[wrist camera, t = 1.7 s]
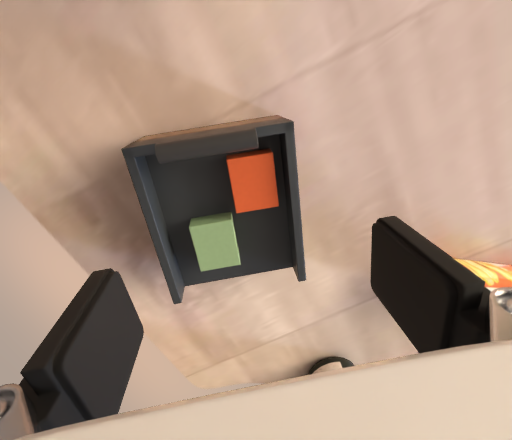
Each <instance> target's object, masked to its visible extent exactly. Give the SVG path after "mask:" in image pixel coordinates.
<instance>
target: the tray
mask: <svg viewBox="0 0 512 440" xmlns="http://www.w3.org/2000/svg"><path fill="white" fill-rule="evenodd" d="M268 148H269V149H270V150H271V151H272V152H273V157H274V166H275V175H276V183H277V192H278V201H279V206H277V207H271V208H265V209H260V210H254V211H248V212H242V213H236V210H235V204H234V199H233V193H232V188H231V183H230V177H229V172H228V167H227V161H226V156H227V155H231V154H237V153H243V152H249V151H256V150H262V149H268ZM121 150H122V153H123V156H124V158H125V161H126V164H127V167H128V170H129V173H130V176H131V179H132V182H133V185H134V188H135V191H136V193H137V196H138V199H139V202H140V205H141V208H142V211H143V214H144V217H145V220H146V223H147V226H148V229H149V232H150V235H151V238H152V241H153V244H154V247H155V250H156V253H157V256H158V258H159V261H160V264H161V267H162V270H163V273H164V276H165V279H166V282H167V285H168V288H169V291H170V294H171V297H172V300H173V303H174V304H178V303H181V302H182V297H183V292H184V287H185V286H189V285H195V284H200V283H206V282H211V281H217V280H222V279H228V278H233V277H239V276H245V275H250V274H256V273H261V272H267V271H272V270H278V269H284V268H289V267H293V269H294V271H295V274H296V276H297V279H298V281H305V280H306V273H305V260H304V248H303V235H302V223H301V210H300V198H299V185H298V173H297V160H296V148H295V135H294V122H293V121H291V120H289V119H286V118H281V119H275V120H269V121H262V122H256V123H250V124H244V125H237V126H231V127H225V128H219V129H212V130H206V131H200V132H194V133H187V134H181V135H175V136H169V137H162V138H156V139H150V140H144V141H137V142H133V143H131V144H129V145H128V146H126V147H124V148H122V149H121ZM227 212H231V213H232V218H233V223H234V228H235V233H236V239H237V244H238V249H239V254H240V265H235V266H230V267H224V268H218V269H213V270H207V271H200V267H199V263H198V259H197V256H196V252H195V248H194V245H193V241H192V237H191V233H190V230H189V225H190V221H191V219H192V218H197V217H203V216H209V215H215V214H221V213H227Z"/></svg>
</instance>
